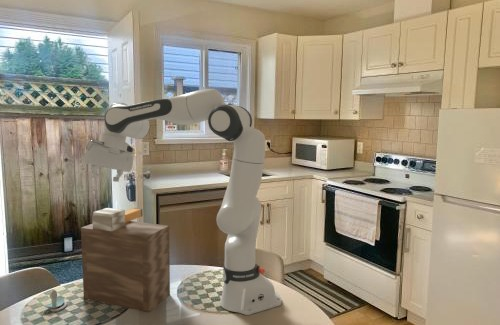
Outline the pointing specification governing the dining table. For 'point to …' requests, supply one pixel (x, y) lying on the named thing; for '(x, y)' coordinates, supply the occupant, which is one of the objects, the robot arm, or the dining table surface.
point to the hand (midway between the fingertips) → (105, 179)
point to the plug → (133, 214)
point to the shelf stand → (125, 261)
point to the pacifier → (56, 302)
